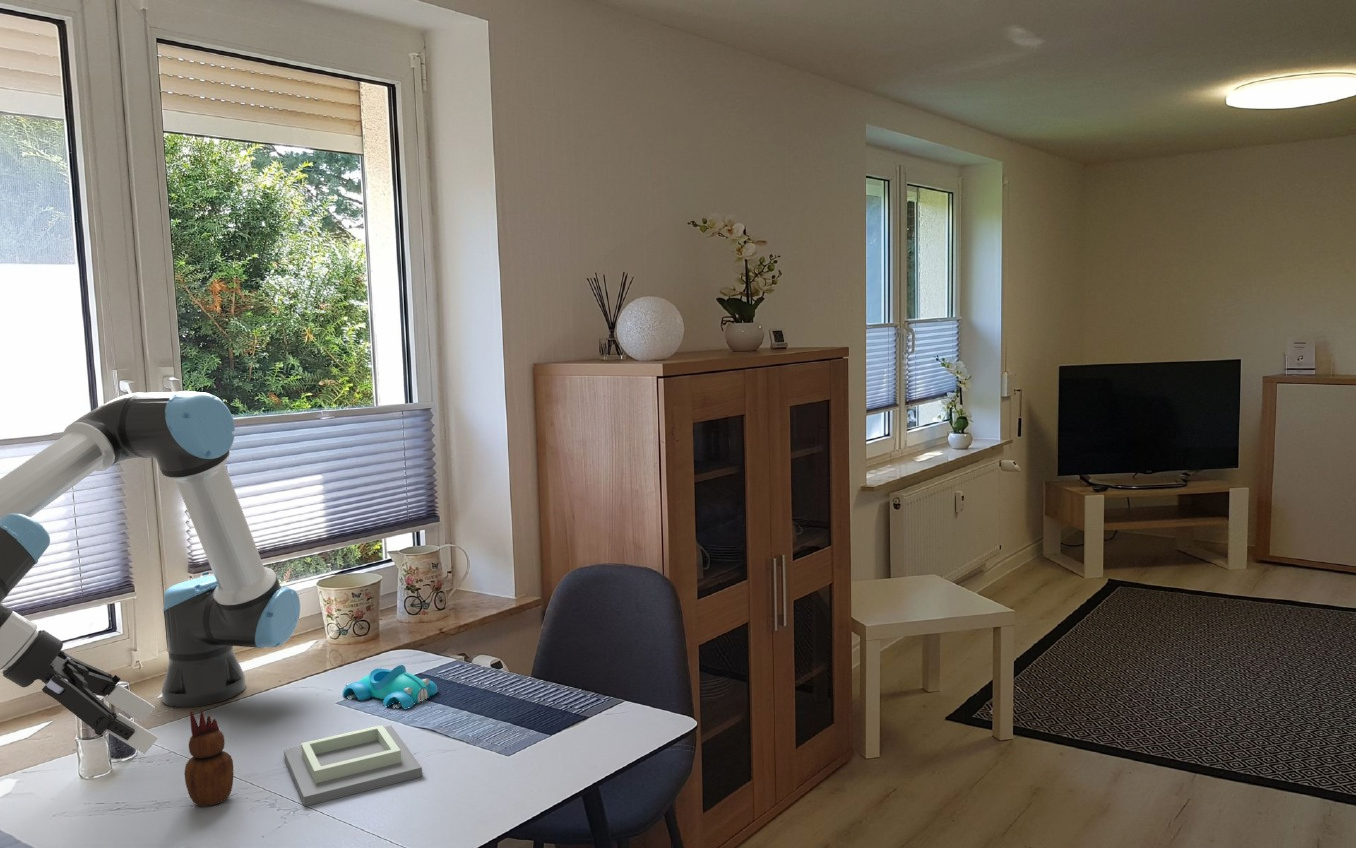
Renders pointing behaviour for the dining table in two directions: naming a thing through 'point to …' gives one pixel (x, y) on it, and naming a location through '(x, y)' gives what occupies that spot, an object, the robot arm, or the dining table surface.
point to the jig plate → (350, 764)
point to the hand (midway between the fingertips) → (150, 729)
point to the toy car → (392, 687)
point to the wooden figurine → (208, 764)
